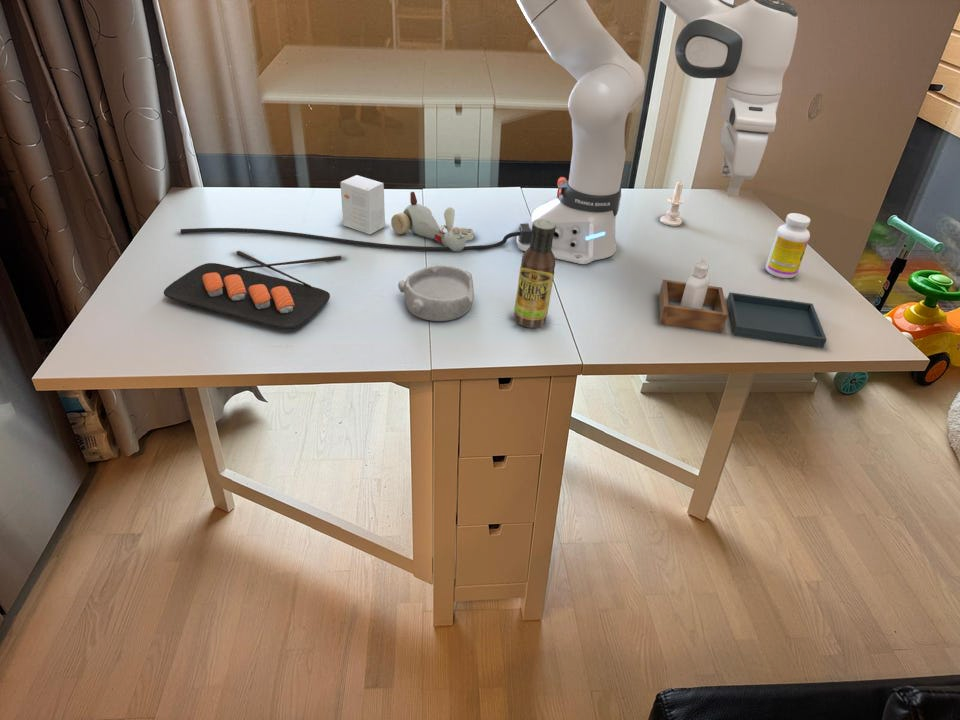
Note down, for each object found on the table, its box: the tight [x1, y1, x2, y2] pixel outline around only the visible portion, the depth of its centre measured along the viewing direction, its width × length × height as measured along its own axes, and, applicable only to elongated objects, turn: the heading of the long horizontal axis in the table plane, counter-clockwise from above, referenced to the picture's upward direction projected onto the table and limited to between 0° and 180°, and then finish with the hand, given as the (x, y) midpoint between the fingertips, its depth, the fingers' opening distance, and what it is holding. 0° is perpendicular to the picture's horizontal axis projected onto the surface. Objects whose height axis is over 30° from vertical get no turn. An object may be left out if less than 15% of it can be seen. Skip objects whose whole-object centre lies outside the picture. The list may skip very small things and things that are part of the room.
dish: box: [397, 264, 475, 322], centre depth 136 cm, size 14×14×5 cm
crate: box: [658, 279, 729, 334], centre depth 139 cm, size 12×11×4 cm
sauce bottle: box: [513, 219, 556, 329], centre depth 129 cm, size 6×6×20 cm
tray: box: [726, 291, 828, 349], centre depth 139 cm, size 16×13×2 cm
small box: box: [340, 174, 386, 235], centre depth 161 cm, size 8×6×10 cm
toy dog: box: [390, 191, 475, 252], centre depth 158 cm, size 12×19×9 cm, turn 69°
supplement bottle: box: [765, 212, 811, 279], centre depth 153 cm, size 7×7×13 cm
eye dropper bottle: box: [679, 257, 710, 309], centre depth 137 cm, size 4×6×12 cm
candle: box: [659, 181, 684, 227], centre depth 173 cm, size 5×5×10 cm
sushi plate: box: [163, 250, 342, 330], centre depth 139 cm, size 29×30×4 cm
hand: (728, 185), depth 128 cm, fingers open, 8 cm apart
